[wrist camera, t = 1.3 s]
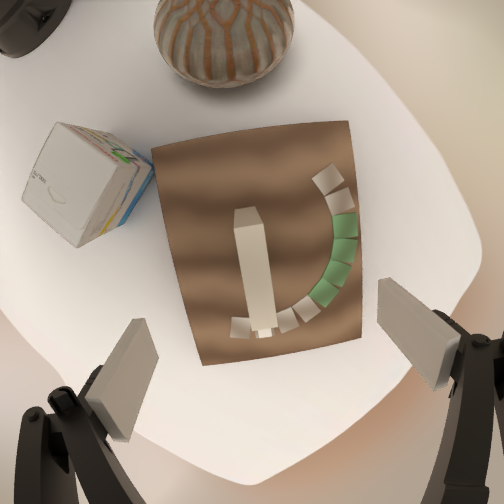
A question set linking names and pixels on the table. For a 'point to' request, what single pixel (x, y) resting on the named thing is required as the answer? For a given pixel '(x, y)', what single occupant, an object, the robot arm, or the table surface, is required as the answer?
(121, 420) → the robot arm
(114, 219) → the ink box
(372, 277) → the table surface
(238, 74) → the vase
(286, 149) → the board
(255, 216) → the cream dial pointer
